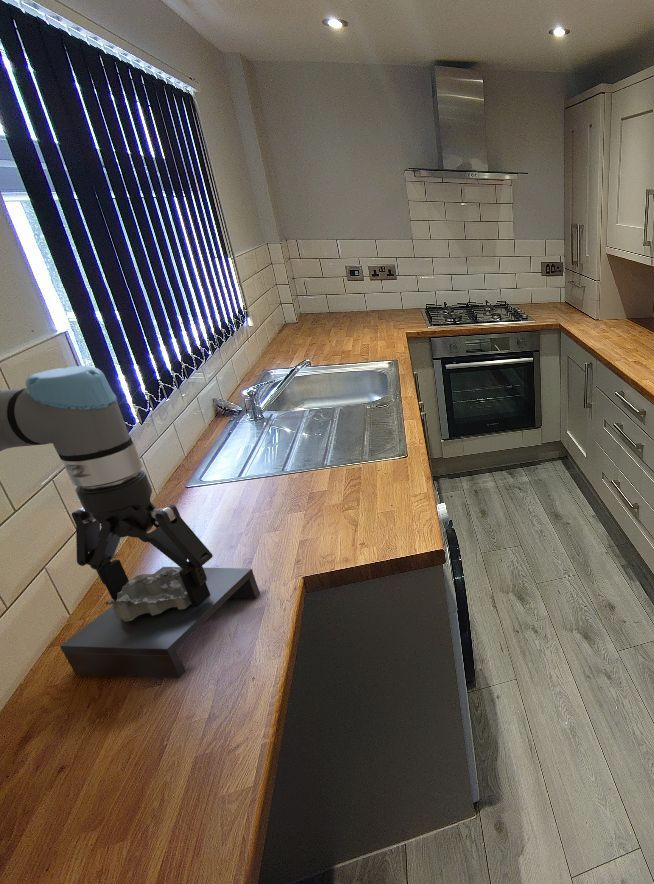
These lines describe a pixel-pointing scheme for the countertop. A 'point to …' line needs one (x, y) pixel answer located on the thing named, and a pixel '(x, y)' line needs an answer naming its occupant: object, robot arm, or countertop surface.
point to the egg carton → (150, 595)
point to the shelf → (152, 632)
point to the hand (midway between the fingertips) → (163, 600)
